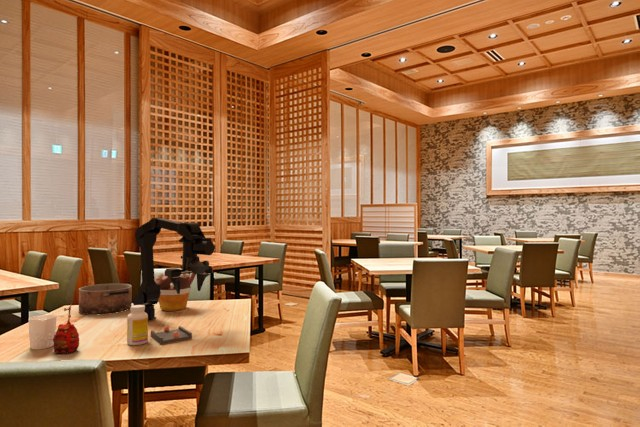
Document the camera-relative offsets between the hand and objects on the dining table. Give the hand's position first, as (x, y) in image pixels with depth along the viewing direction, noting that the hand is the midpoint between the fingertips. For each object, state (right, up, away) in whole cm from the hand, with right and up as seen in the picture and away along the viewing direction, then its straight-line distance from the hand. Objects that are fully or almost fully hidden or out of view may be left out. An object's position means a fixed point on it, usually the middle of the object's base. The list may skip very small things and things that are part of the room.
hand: (188, 292), depth 168 cm
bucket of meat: (-17, -14, +33) cm, 40 cm away
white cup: (-41, -13, -27) cm, 51 cm away
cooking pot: (-49, -14, +30) cm, 59 cm away
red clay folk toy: (-30, -13, -32) cm, 46 cm away
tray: (-1, -14, -16) cm, 21 cm away
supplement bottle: (-11, -14, -23) cm, 29 cm away
